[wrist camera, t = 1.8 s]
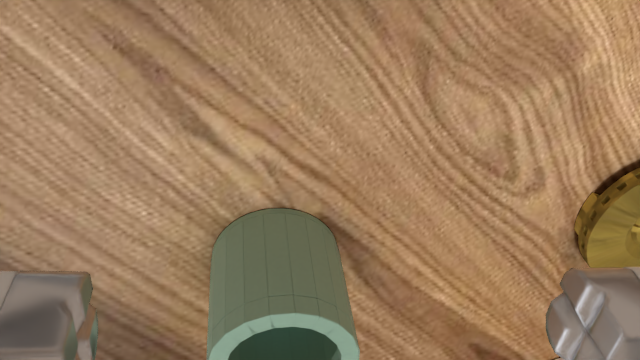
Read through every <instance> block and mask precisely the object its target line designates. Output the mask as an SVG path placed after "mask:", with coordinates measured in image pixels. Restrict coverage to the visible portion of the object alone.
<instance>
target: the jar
mask: <svg viewBox="0 0 640 360" xmlns="http://www.w3.org/2000/svg"><path fill="white" fill-rule="evenodd" d="M359 353H360V351H359V345H358V341H357V336H356V331H355V326H354V321H353V316H352V311H351V307H350V302H349V297H348V292H347V287H346V283H345V278H344V273H343V268H342V263H341V259H340V254H339V250H338V247H337V243H336V240H335V238H334V236H333V234H332V232H331V231H330V229H329V228H328V227H327V226H326V225H325V224H324V223H323V222H321V221H320V220H319V219H317V218H315V217H314V216H312V215H309V214H307V213H305V212H301V211H298V210H293V209H284V208H272V209H264V210H260V211H256V212H252V213H250V214H247V215H245V216H243V217H241V218H239V219H237V220H236V221H234V222H232V223H231V224H230V225H229V226H228V227H226V228H225V230H224V231H223V232H222V233H221V234H220V236H219V237H218V239H217V240H216V243H215V245H214V248H213V252H212V259H211V273H210V295H209V317H208V339H207V360H359Z"/></svg>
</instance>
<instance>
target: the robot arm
mask: <svg viewBox="0 0 640 360" xmlns="http://www.w3.org/2000/svg"><path fill="white" fill-rule="evenodd" d="M560 286H561V288H562V290H563V293H562V294H560V295H559V296H558V297H556V298H555V299H554V300H552V301H551V303H550V306H549V308H548V311H547V313H546V332H547V336H548V339H549V342H550V344H551V346H552V348H553V350H554V352H555V353H556V354H557V355H558V356H560V357H561V358H562V359H564V360H640V267H623V268H621V267H602V268H571V269H570V270H568V271H567V272H566V273H565V274H564V276H563V278H562V280H561V282H560ZM92 290H93V287H92V282H91V277H90V274H89V273H87V272H72V271H0V360H95V355H96V350H97V340H98V318H97V311H96V308H95V307H94V306H92V305H91V304H90V303H89V302H90V298H91V294H92Z"/></svg>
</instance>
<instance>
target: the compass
mask: <svg viewBox="0 0 640 360" xmlns="http://www.w3.org/2000/svg"><path fill="white" fill-rule="evenodd" d="M574 230H575V231H576V233H577V234H578V236H579V237H578V243H579V249H580V252H581V255H582V256H583V258H584V259H585V261H586V262H587V264H588V265H589V267H590V268H602V267H621V268H623V267H640V167H639V168H637V169H636V170H634V171H632V172H630V173H628V174H626V175H625V176H623V177H622V178H620V179H619V180H617V181H616V182H615V183H613V184H612V185H611V186H610V187H609V188H607V189H606V190H605V191H604V192H603V193H602V194H601V195H598V194H596V193H593V192H592V193H591V195H590V196H589V197H588V198H587V200H586V201H585V203H584V204H583V206H582V207H581V210H580V212H579V214H578V216H577V219H576V222H575V227H574Z"/></svg>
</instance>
